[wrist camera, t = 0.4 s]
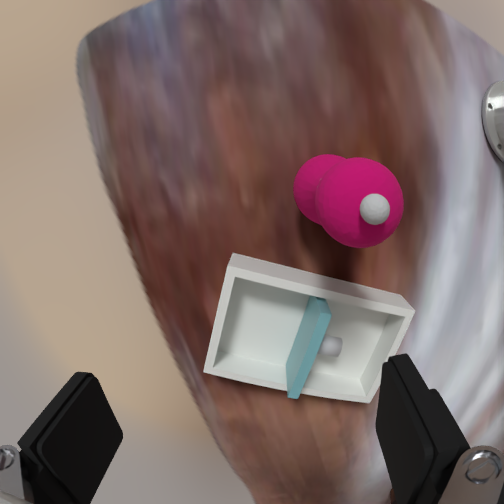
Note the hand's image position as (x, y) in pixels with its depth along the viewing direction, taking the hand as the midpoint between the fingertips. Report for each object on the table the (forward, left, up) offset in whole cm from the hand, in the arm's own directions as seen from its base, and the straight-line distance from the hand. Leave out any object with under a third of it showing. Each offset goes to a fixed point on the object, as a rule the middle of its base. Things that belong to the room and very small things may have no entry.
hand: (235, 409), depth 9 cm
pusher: (-10, +11, -28) cm, 32 cm away
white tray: (-8, +11, -29) cm, 32 cm away
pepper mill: (-6, -6, -30) cm, 31 cm away
